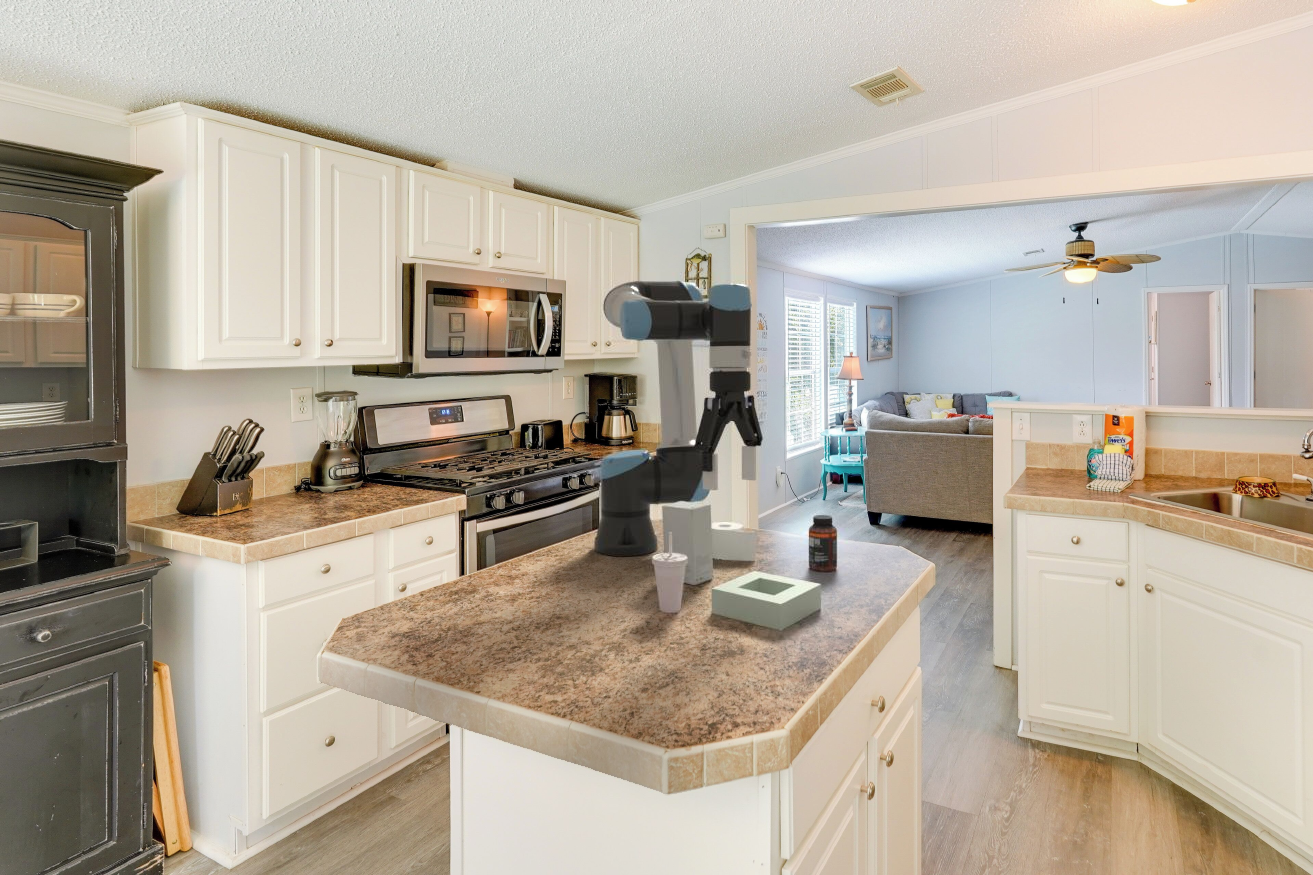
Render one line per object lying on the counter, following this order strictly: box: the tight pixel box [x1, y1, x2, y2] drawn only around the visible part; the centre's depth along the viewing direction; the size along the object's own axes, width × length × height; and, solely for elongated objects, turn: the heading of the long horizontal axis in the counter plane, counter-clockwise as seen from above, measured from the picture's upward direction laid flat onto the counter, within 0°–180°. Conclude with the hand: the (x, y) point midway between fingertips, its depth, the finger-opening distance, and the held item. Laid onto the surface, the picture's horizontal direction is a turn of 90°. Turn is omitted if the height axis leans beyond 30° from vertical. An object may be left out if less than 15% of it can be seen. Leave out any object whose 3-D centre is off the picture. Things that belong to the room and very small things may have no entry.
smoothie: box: [651, 532, 688, 614], centre depth 133 cm, size 6×6×14 cm
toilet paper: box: [711, 521, 757, 562], centre depth 171 cm, size 8×11×7 cm
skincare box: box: [661, 501, 714, 586], centre depth 152 cm, size 8×7×16 cm
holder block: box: [711, 570, 822, 632], centre depth 132 cm, size 14×14×4 cm
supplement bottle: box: [808, 514, 838, 572], centre depth 159 cm, size 6×6×11 cm
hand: (730, 484), depth 139 cm, fingers open, 13 cm apart
